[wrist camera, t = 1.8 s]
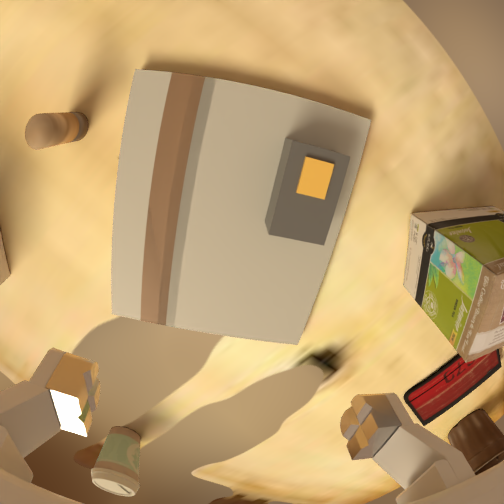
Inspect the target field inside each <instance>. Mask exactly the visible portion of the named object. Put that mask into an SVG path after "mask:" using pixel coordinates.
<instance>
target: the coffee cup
mask: <svg viewBox="0 0 504 504" xmlns="http://www.w3.org/2000/svg"><path fill="white" fill-rule="evenodd" d="M139 456H140V436H139V435H138V434H137V433H136V432H134V431H133V430H131V429H128V428H125V427H120V426H116V427H112V428H111V430H110V432H109V434H108V436H107V439H106V441H105V443H104V445H103V448H102V450H101V452H100V455H99V457H98V459H97V462H96V464H95V466H94V468H93V469H91V475H92V482H93V483H94V484H95V485H96V486H98V487H99V488H101V489H103V490H105V491H108V492H110V493H113V494H117V495H122V496H133V495H135V494H136V492H137V490H138V489H139V487H140V484H139V483H138V479H139Z"/></svg>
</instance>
